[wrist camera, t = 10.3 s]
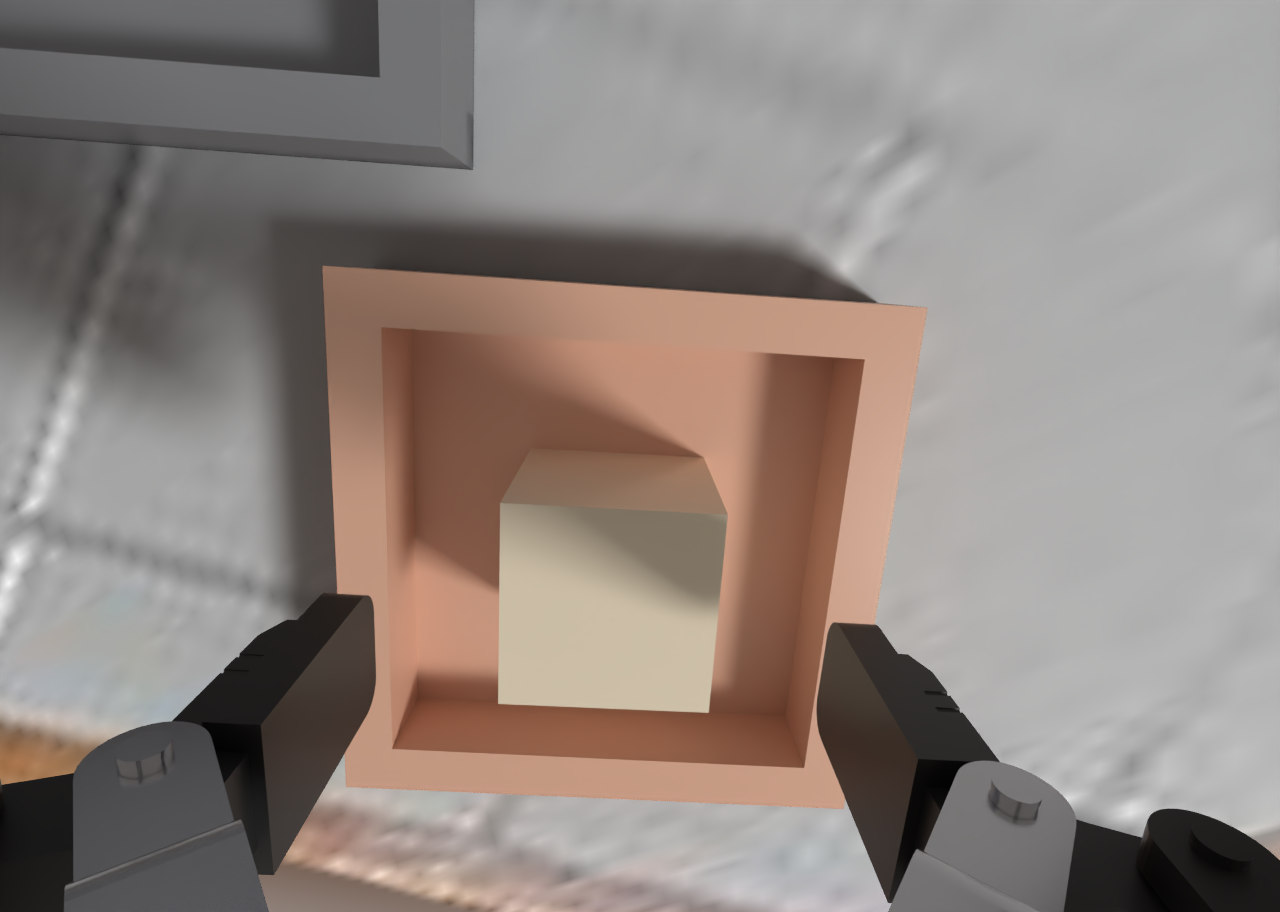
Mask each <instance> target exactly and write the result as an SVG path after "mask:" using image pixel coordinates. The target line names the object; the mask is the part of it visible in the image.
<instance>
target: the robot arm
mask: <svg viewBox="0 0 1280 912" xmlns="http://www.w3.org/2000/svg"><path fill="white" fill-rule="evenodd" d="M375 685H376V657H375V628H374V606H373V602H372V599H371V597H370V596H368V595H353V594H335V593H324V594H322V595H321V596H319V598H318V599H317V600H316V601H315V602H314V603H313V604H312V605H311V606H310V607H309V608H308V609H307V610H306V611H305V612H304V614H303V615H302V616H301V617H300V618H299V619H298V620H286V621H284V622H282V623H280V624H278V625H276V626H275V627H273V628H271V629H269V630H267V631H265V632H263V633H261V634H260V635H258V636H257V637H256V638H255V639H254V640H253V641H252V642H251V643H250V644H249V645H248V646H247V647H246V648H245V649H244V650H243V651H242V652H241V653H240V656H239V658H238V657H236V658H235V659H234V660H233V661H232V662H231V663H230V664H229V665H228V666H227V667H226V668H225V669H224V673H220V674H219V675H218V676H217V677H216V678H215V679H214V680H213V681H212V682H211V683H210V684H209V685H208V686H207V687H206V688H205V689H204V690H203V691H202V692H201V693H200V694H199V695H198V696H197V697H196V698H195V699H194V700H193V701H192V702H191V703H190V704H189V705H188V706H187V707H186V708H185V709H184V710H183V711H182V712H181V713H180V714H179V715H178V716H177V717H176V718H175V719H174V720H173V721H172V722H161V723H155V724H150V725H146V726H142V727H139V728H136V729H133V730H130V731H127V732H125V733H122V734H120V735H118V736H116V737H114V738H112V739H110V740H108V741H106V742H105V743H103V744H101V745H100V746H98V747H97V748H95V749H94V750H93V751H91V752H90V753H89V754H88V755H87V756H86V757H85V758H84V759H83V760H82V761H81V762H80V764H79V765H78V766H77V768H76V770H75V772H74V773H72V774H67V775H61V776H55V777H48V778H42V779H36V780H30V781H24V782H17V783H11V784H5V785H1V781H0V912H269V911H268V908H267V904H266V901H265V897H264V894H263V891H262V887H261V884H260V880H259V877H258V874H261V875H274V874H275V872H276V870H277V868H278V867H279V865H280V863H281V862H282V860H283V858H284V857H285V855H286V853H287V851H288V850H289V848H290V846H291V845H292V843H293V841H294V839H295V838H296V836H297V834H298V833H299V831H300V829H301V827H302V826H303V824H304V822H305V821H306V819H307V817H308V815H309V814H310V812H311V810H312V809H313V807H314V805H315V803H316V802H317V800H318V798H319V796H320V795H321V793H322V791H323V790H324V788H325V786H326V784H327V783H328V781H329V779H330V778H331V776H332V774H333V772H334V771H335V769H336V767H337V766H338V764H339V762H340V760H341V759H342V757H343V755H344V754H345V752H346V750H347V748H348V747H349V745H350V743H351V742H352V740H353V738H354V736H355V735H356V733H357V731H358V730H359V728H360V726H361V724H362V723H363V721H364V719H365V718H366V716H367V714H368V712H369V710H370V707H371V704H372V701H373V697H374V692H375ZM959 709H960V708H959V707H958V706H957V704H956V703H955V702H954V700H953V699H952V698H951V696H947V691H946V690H945V688H944V687H943V686H942V684H941V683H940V682H939V680H938V679H937V678H936V677H935V675H934V674H933V673H932V672H931V671H930V670H928V669H927V668H926V667H924V666H923V665H922V664H920V663H919V662H917V661H916V660H915V659H913V658H912V657H910V656H909V655H906V654H897V652H896V651H895V649H894V648H893V646H892V645H891V644H890V642H889V641H888V639H887V638H886V636H885V635H884V634H883V632H882V631H881V629H880V628H879V627H878V626H877V625H874V624H856V623H838V622H834V623H832V624H831V626H830V628H829V630H828V634H827V640H826V646H825V652H824V659H823V665H822V671H821V678H820V684H819V690H818V696H817V708H816V713H817V725H818V731H819V735H820V738H821V740H822V743H823V745H824V748H825V750H826V753H827V755H828V758H829V760H830V762H831V765H832V767H833V770H834V772H835V775H836V777H837V779H838V782H839V784H840V787H841V789H842V792H843V794H844V797H845V799H846V801H847V804H848V806H849V809H850V811H851V814H852V816H853V818H854V821H855V823H856V826H857V828H858V831H859V833H860V835H861V838H862V840H863V843H864V845H865V848H866V850H867V853H868V855H869V857H870V860H871V862H872V865H873V867H874V870H875V872H876V874H877V877H878V879H879V882H880V884H881V887H882V889H883V892H884V894H885V896H886V899H887V901H888V903H892V904H891V906H890V909H889V911H888V912H1280V860H1279V859H1278V858H1276V857H1275V856H1274V855H1273V854H1272V853H1271V852H1270V851H1269V850H1267V849H1266V848H1265V847H1263V846H1262V845H1261V844H1259V843H1258V842H1257V841H1255V840H1254V839H1252V838H1251V837H1249V836H1247V835H1246V834H1244V833H1242V832H1241V831H1239V830H1237V829H1235V828H1233V827H1231V826H1229V825H1227V824H1225V823H1223V822H1221V821H1218V820H1216V819H1213V818H1211V817H1208V816H1205V815H1202V814H1199V813H1196V812H1191V811H1187V810H1181V809H1162V810H1158V811H1156V812H1154V813H1152V814H1151V815H1150V817H1149V819H1148V821H1147V824H1146V827H1145V830H1144V834H1143V837H1142V838H1141V837H1137V836H1133V835H1130V834H1126V833H1122V832H1119V831H1115V830H1111V829H1108V828H1104V827H1100V826H1096V825H1093V824H1089V823H1086V822H1083V821H1079V820H1076V816H1075V813H1074V811H1073V809H1072V807H1071V806H1070V804H1069V803H1068V802H1067V800H1066V799H1065V798H1064V797H1063V796H1062V795H1061V794H1060V793H1059V792H1058V791H1057V790H1056V789H1054V788H1053V787H1052V786H1051V785H1049V784H1048V783H1046V782H1045V781H1043V780H1042V779H1040V778H1039V777H1037V776H1035V775H1033V774H1031V773H1029V772H1027V771H1025V770H1023V769H1020V768H1017V767H1015V766H1012V765H1008V764H1005V763H1000V761H999V760H998V759H997V757H996V756H995V755H994V753H993V752H992V751H991V750H990V748H989V747H988V746H987V744H986V743H985V742H984V740H983V739H982V738H981V736H980V735H979V734H978V732H977V731H976V730H975V728H974V727H973V726H972V724H971V723H970V722H969V720H968V719H967V718H966V716H965V715H964V714H963V713H960V710H959Z"/></svg>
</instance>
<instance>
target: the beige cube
mask: <svg viewBox="0 0 1280 912" xmlns="http://www.w3.org/2000/svg"><path fill="white" fill-rule="evenodd" d="M727 520H728V513H727V511H726V509H725V506H724V504H723V502H722V499H721V497H720V495H719V492H718V490H717V488H716V485H715V483H714V480H713V478H712V476H711V473H710V471H709V469H708V466H707V464H706V462H705V459H704V457H686V456H668V455H649V454H631V453H612V452H594V451H576V450H557V449H539V448H531V449H530V451H529V453H528V455H527V457H526V458H525V460H524V462H523V464H522V465H521V467H520V469H519V471H518V472H517V474H516V476H515V478H514V479H513V481H512V483H511V485H510V486H509V488H508V490H507V492H506V494H505V495H504V497H503V499H502V501H501V502H500V570H499V668H498V704H512V705H536V706H559V707H583V708H606V709H630V710H654V711H677V712H701V713H709V705H710V694H711V684H712V674H713V664H714V653H715V643H716V633H717V623H718V612H719V602H720V592H721V582H722V571H723V561H724V551H725V540H726V530H727Z"/></svg>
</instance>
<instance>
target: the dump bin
mask: <svg viewBox="0 0 1280 912" xmlns="http://www.w3.org/2000/svg"><path fill="white" fill-rule="evenodd" d="M322 269H323V290H324V312H325V334H326V356H327V378H328V400H329V422H330V444H331V465H332V487H333V509H334V531H335V553H336V575H337V594H353V595H368V596H370V597H371V599H372V602H373V606H374V628H375V657H376V685H375V692H374V697H373V701H372V704H371V707H370V710H369V712H368V714H367V716H366V718H365V719H364V721H363V723H362V724H361V726H360V728H359V730H358V731H357V733H356V735H355V736H354V738H353V740H352V742H351V743H350V745H349V747H348V748H347V750H346V752H345V772H346V787H361V788H383V789H406V790H428V791H451V792H473V793H496V794H519V795H541V796H564V797H586V798H609V799H631V800H654V801H677V802H699V803H722V804H744V805H767V806H789V807H812V808H834V809H843V808H844V802H845V797H844V794H843V792H842V789H841V787H840V784H839V782H838V779H837V777H836V775H835V772H834V770H833V767H832V765H831V762H830V760H829V758H828V755H827V753H826V750H825V748H824V745H823V743H822V740H821V738H820V735H819V731H818V725H817V713H816V708H817V696H818V690H819V684H820V678H821V671H822V665H823V659H824V652H825V646H826V640H827V634H828V630H829V628H830V626H831V624H832V623H834V622H838V623H856V624H875V618H876V612H877V606H878V600H879V594H880V588H881V582H882V576H883V570H884V564H885V558H886V552H887V546H888V540H889V534H890V528H891V522H892V516H893V511H894V505H895V499H896V493H897V487H898V481H899V475H900V469H901V463H902V457H903V451H904V445H905V439H906V433H907V427H908V421H909V415H910V409H911V403H912V397H913V391H914V385H915V380H916V374H917V368H918V362H919V356H920V350H921V344H922V338H923V332H924V326H925V320H926V314H927V308H924V307H914V306H904V305H894V304H884V303H872V302H857V301H843V300H828V299H814V298H799V297H785V296H771V295H756V294H742V293H727V292H713V291H699V290H684V289H670V288H655V287H641V286H627V285H612V284H598V283H583V282H569V281H555V280H540V279H526V278H511V277H497V276H482V275H468V274H454V273H439V272H425V271H410V270H396V269H382V268H363V267H338V266H322ZM531 448H539V449H557V450H576V451H594V452H612V453H631V454H649V455H668V456H686V457H704V459H705V462H706V464H707V466H708V469H709V471H710V473H711V476H712V478H713V480H714V483H715V485H716V488H717V490H718V492H719V495H720V497H721V499H722V502H723V504H724V506H725V509H726V511H727V513H728V520H727V530H726V540H725V551H724V561H723V571H722V582H721V592H720V602H719V612H718V623H717V633H716V643H715V653H714V664H713V674H712V684H711V694H710V705H709V713H701V712H677V711H654V710H630V709H606V708H583V707H559V706H536V705H512V704H498V668H499V570H500V502H501V501H502V499H503V497H504V495H505V494H506V492H507V490H508V488H509V486H510V485H511V483H512V481H513V479H514V478H515V476H516V474H517V472H518V471H519V469H520V467H521V465H522V464H523V462H524V460H525V458H526V457H527V455H528V453H529V451H530V449H531Z"/></svg>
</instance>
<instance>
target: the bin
mask: <svg viewBox="0 0 1280 912" xmlns="http://www.w3.org/2000/svg"><path fill="white" fill-rule="evenodd" d="M473 111H474V0H0V135H12V136H26V137H39V138H53V139H66V140H80V141H93V142H106V143H120V144H133V145H147V146H160V147H174V148H187V149H200V150H214V151H227V152H241V153H254V154H267V155H281V156H294V157H308V158H321V159H335V160H348V161H361V162H375V163H388V164H402V165H415V166H429V167H442V168H455V169H469V170H473Z"/></svg>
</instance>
